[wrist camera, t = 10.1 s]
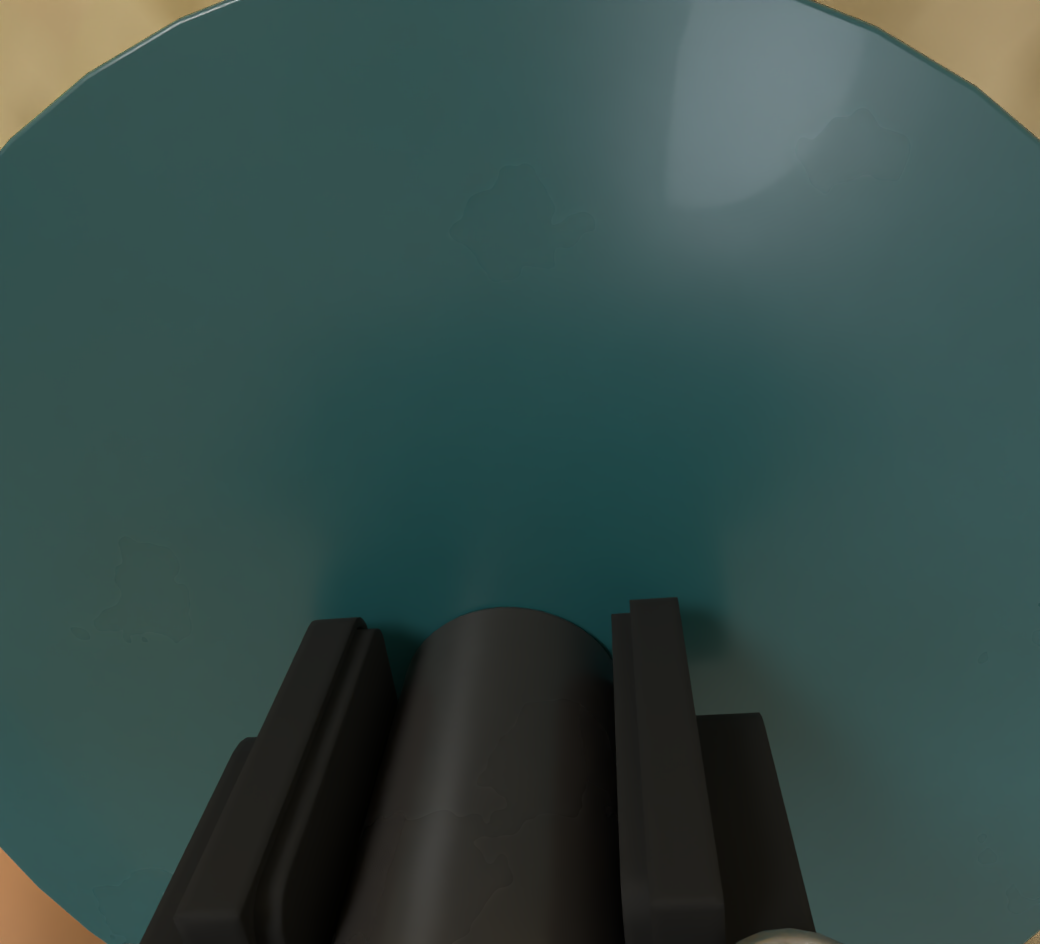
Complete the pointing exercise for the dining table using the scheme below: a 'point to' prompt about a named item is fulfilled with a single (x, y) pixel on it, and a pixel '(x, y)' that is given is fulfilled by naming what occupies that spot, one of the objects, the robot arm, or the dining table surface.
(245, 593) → the lid
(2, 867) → the egg
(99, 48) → the dining table surface
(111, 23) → the dining table surface
